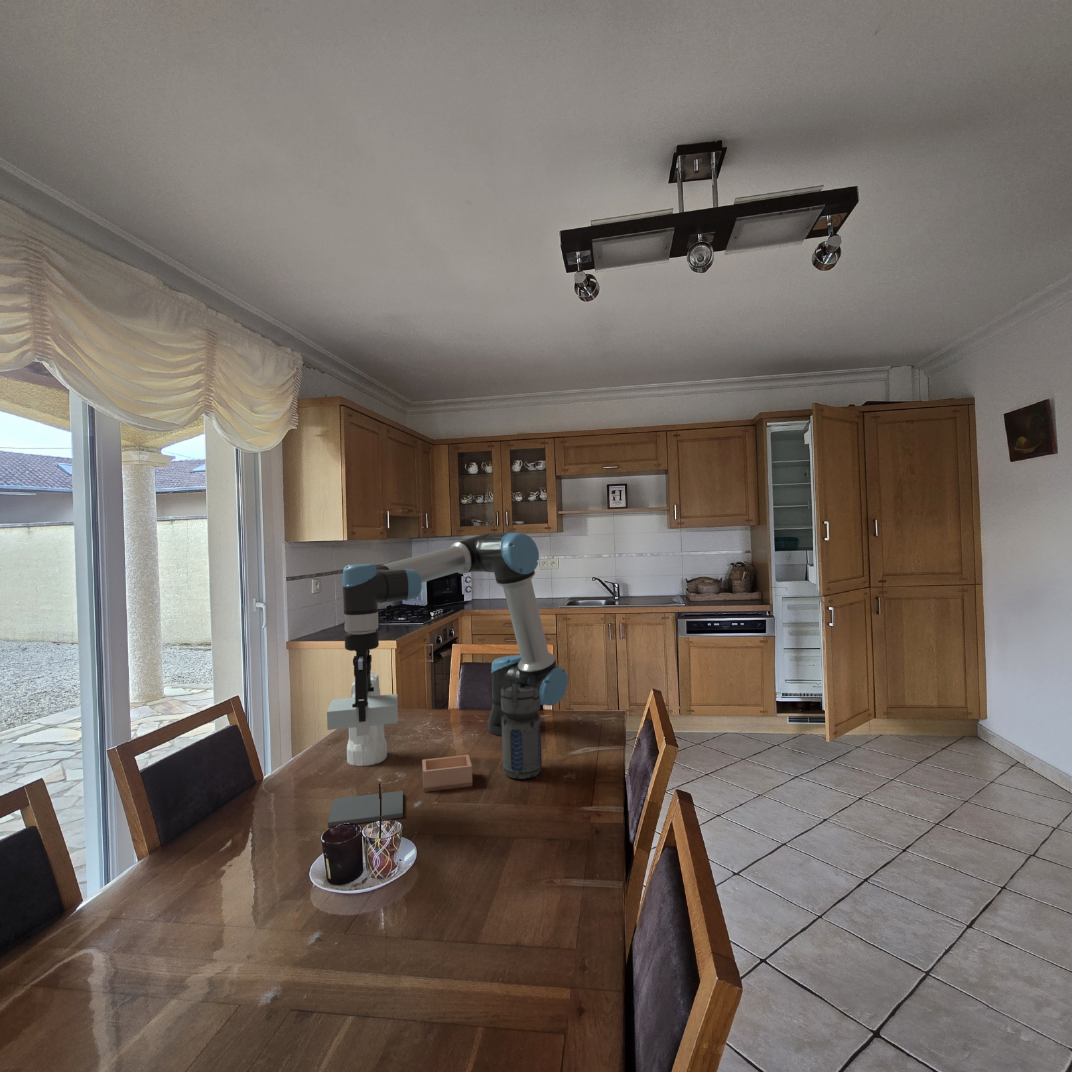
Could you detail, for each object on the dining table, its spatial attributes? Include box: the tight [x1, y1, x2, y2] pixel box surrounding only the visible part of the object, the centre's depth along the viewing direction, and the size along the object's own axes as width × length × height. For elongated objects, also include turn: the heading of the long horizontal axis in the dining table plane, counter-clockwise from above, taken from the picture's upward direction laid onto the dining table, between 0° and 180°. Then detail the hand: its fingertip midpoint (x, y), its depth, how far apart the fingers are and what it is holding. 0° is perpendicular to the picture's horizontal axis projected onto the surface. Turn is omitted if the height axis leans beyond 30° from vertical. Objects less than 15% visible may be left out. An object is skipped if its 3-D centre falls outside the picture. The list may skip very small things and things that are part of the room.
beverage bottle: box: [501, 675, 543, 780], centre depth 157 cm, size 10×13×25 cm
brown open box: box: [421, 754, 473, 793], centre depth 152 cm, size 12×8×5 cm, turn 102°
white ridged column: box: [346, 670, 388, 767], centre depth 170 cm, size 11×11×25 cm
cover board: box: [326, 693, 399, 731], centre depth 138 cm, size 15×10×4 cm, turn 102°
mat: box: [327, 790, 404, 828], centre depth 138 cm, size 16×12×1 cm
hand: (364, 727), depth 138 cm, fingers closed on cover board, 10 cm apart
